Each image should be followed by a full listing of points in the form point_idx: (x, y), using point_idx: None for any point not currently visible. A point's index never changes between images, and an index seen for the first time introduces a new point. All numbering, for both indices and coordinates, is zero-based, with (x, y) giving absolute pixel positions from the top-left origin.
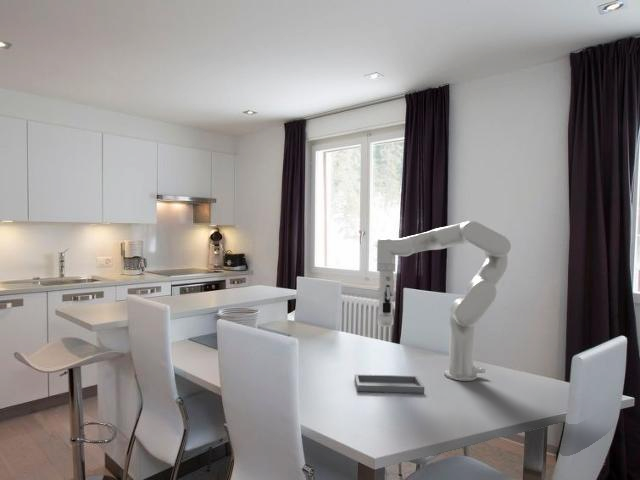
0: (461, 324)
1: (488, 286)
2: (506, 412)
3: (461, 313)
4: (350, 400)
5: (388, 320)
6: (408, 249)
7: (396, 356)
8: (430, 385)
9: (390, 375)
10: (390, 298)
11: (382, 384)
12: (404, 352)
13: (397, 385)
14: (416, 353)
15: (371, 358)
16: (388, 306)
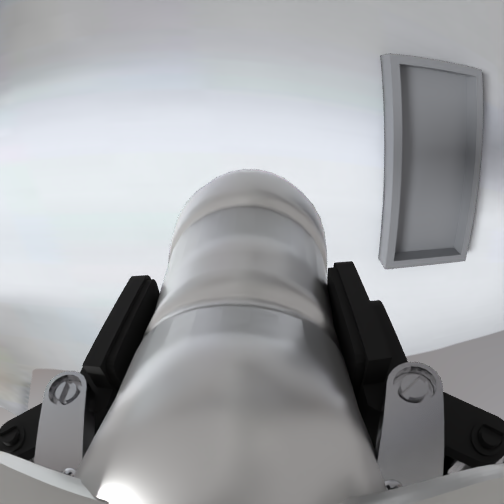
0: None
1: None
2: None
3: None
4: (489, 265)
5: (323, 234)
6: None
7: (63, 109)
8: (398, 19)
9: (396, 151)
10: (443, 439)
11: (422, 180)
12: (17, 89)
13: (477, 149)
14: (21, 48)
15: (112, 199)
16: (396, 344)
